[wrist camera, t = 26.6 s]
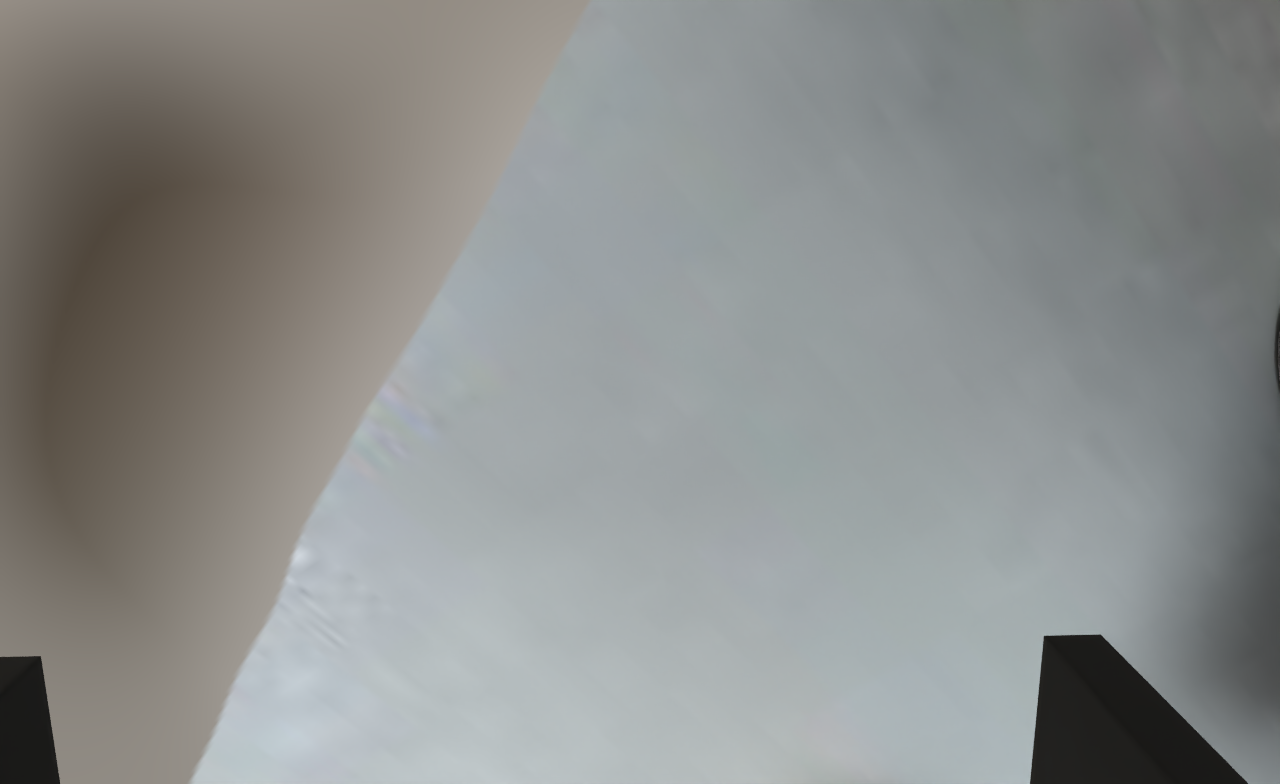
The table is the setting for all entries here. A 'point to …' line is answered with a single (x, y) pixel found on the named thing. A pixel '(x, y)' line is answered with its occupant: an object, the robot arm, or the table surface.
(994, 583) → the table surface
